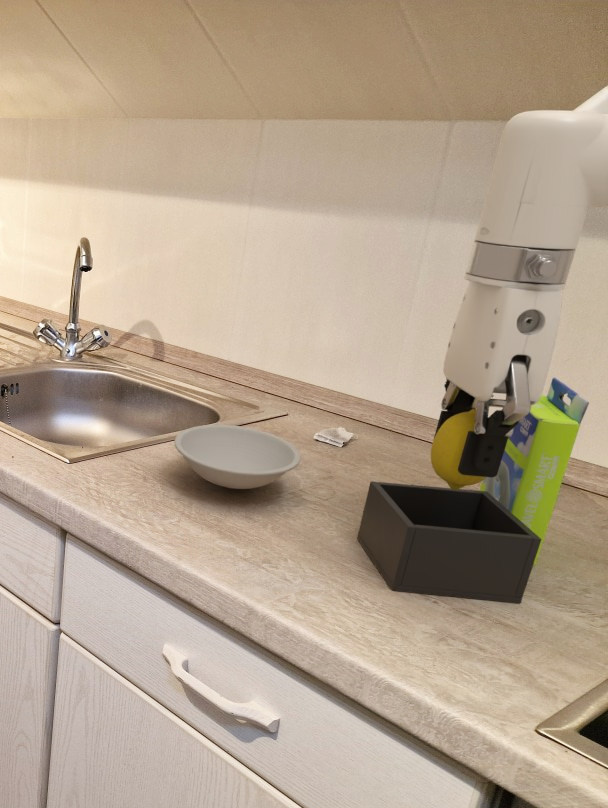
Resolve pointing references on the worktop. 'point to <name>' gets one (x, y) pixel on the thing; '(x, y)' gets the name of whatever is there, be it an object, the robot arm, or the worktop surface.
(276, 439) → the dish
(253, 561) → the worktop surface
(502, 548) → the basket
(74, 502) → the worktop surface
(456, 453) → the lemon
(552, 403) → the box
